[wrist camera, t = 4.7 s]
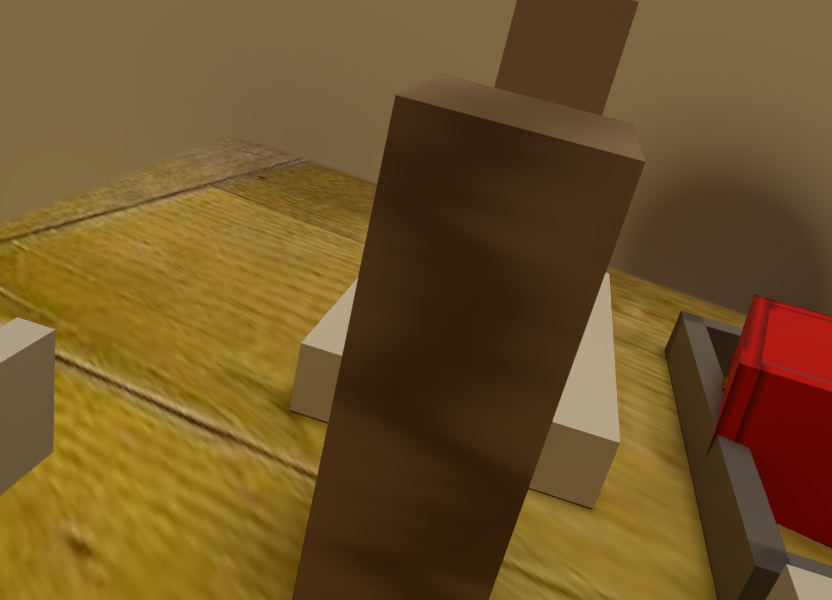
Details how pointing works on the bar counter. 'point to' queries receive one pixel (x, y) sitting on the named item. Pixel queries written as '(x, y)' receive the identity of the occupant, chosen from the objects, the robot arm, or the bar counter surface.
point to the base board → (594, 363)
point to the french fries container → (785, 411)
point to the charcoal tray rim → (725, 468)
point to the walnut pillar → (461, 336)
